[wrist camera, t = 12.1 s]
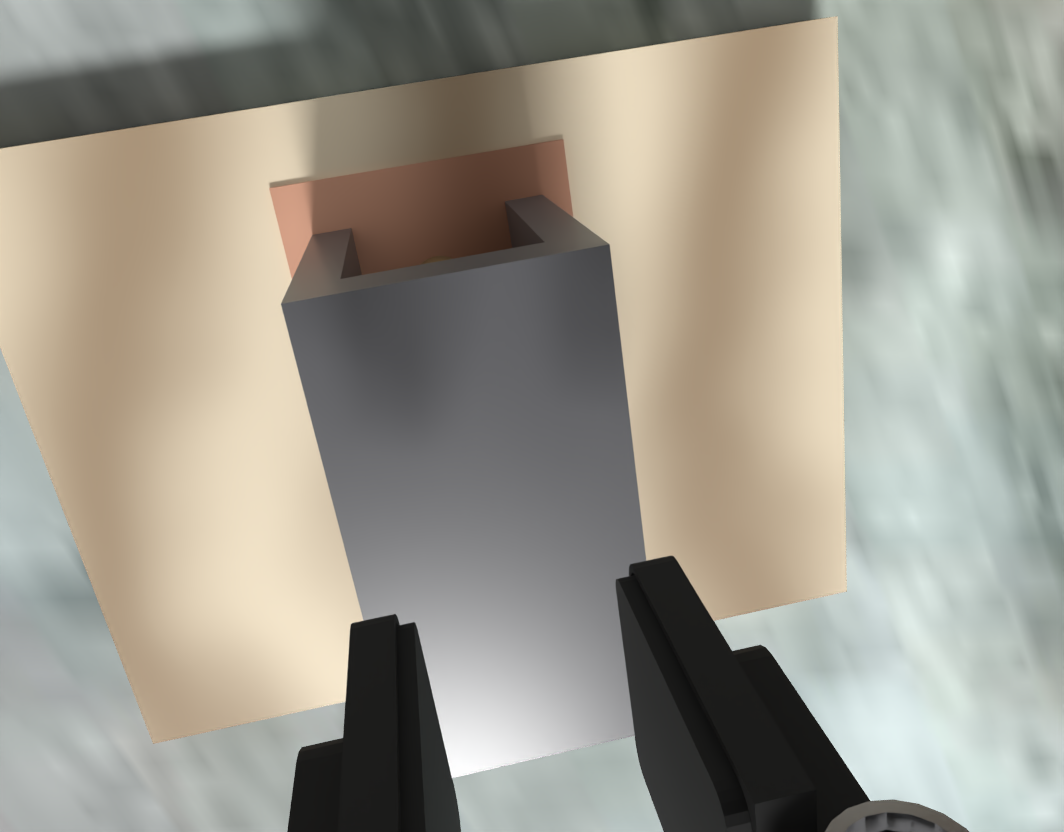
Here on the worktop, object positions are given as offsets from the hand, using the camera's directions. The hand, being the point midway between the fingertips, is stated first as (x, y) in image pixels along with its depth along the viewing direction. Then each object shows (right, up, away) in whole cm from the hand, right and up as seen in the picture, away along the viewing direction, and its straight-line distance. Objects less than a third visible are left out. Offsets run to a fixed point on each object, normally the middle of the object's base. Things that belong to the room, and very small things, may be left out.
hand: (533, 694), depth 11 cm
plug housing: (-1, +3, +9) cm, 10 cm away
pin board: (-2, +4, +10) cm, 11 cm away
